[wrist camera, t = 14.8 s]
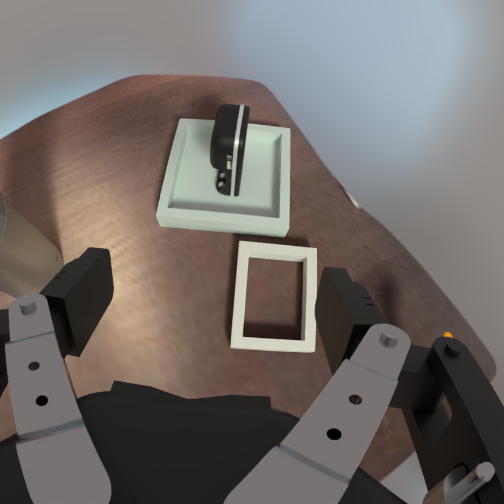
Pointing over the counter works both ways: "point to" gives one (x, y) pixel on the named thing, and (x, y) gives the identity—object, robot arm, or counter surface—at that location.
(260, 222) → the tray
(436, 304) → the counter surface
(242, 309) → the white rectangular frame
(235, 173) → the battery charger
